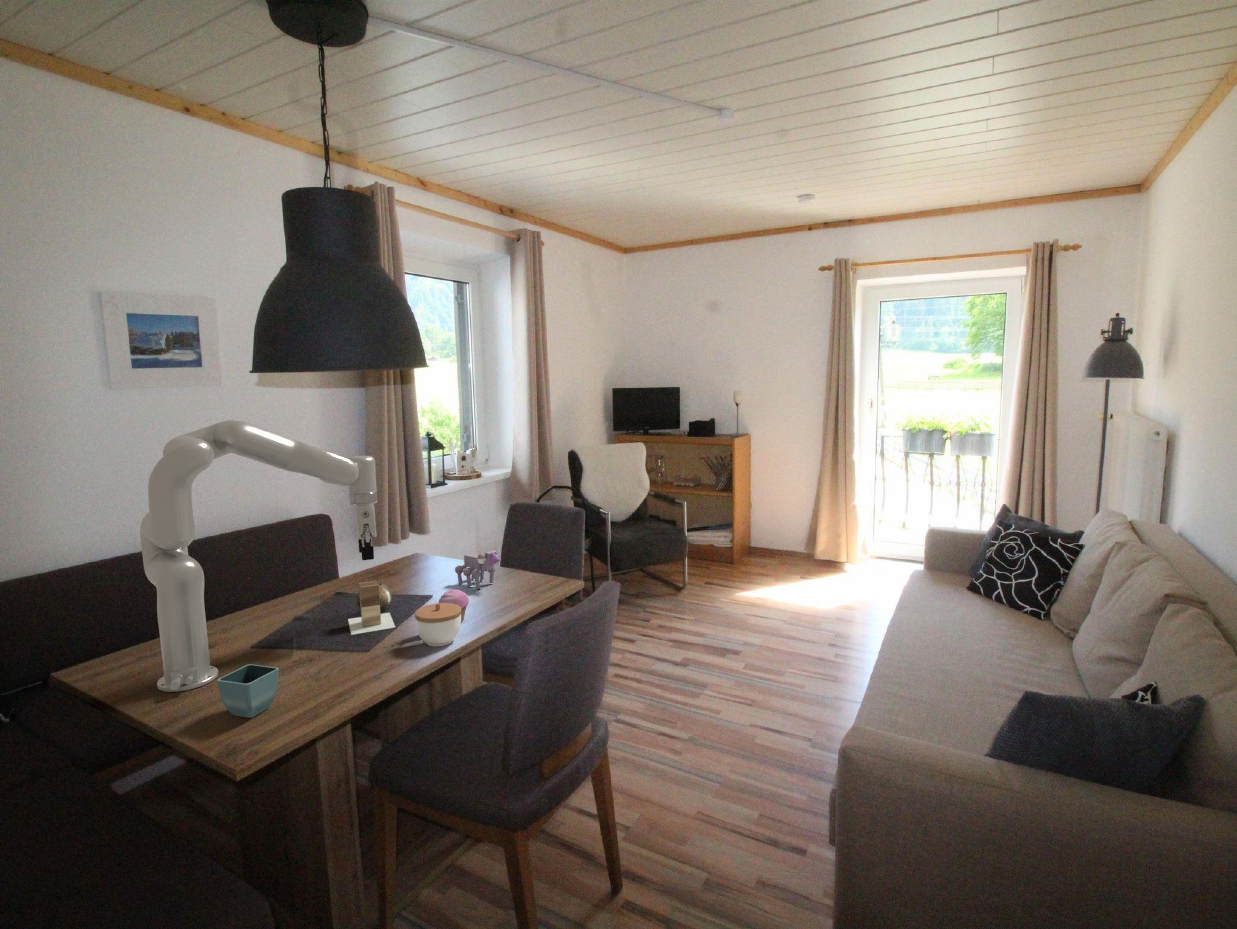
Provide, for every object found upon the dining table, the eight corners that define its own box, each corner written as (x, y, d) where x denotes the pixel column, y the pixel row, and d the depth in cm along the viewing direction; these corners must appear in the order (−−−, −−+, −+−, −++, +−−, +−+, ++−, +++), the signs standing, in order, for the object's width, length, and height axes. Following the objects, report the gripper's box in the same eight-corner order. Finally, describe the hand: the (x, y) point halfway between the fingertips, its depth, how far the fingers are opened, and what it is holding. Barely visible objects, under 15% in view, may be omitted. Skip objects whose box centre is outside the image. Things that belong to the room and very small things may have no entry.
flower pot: (252, 700, 151) (248, 663, 150) (283, 705, 148) (280, 667, 147) (219, 719, 142) (215, 679, 141) (251, 724, 140) (247, 684, 139)
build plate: (395, 631, 192) (395, 627, 192) (351, 638, 186) (351, 634, 186) (389, 616, 204) (389, 612, 204) (348, 622, 199) (347, 619, 199)
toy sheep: (514, 586, 232) (511, 549, 229) (491, 596, 223) (488, 558, 221) (476, 577, 244) (473, 542, 241) (453, 586, 235) (450, 549, 233)
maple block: (381, 624, 194) (379, 604, 193) (363, 627, 192) (361, 607, 191) (379, 619, 198) (378, 599, 198) (361, 621, 196) (360, 602, 196)
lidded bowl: (437, 630, 192) (435, 594, 190) (472, 637, 186) (470, 599, 185) (406, 646, 181) (404, 607, 179) (441, 653, 175) (439, 614, 174)
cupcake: (453, 615, 204) (451, 584, 203) (475, 619, 200) (474, 587, 199) (433, 625, 196) (432, 593, 195) (456, 629, 192) (455, 596, 191)
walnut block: (379, 604, 193) (378, 585, 192) (361, 607, 191) (360, 587, 190) (378, 599, 198) (376, 580, 197) (360, 602, 196) (359, 583, 195)
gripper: (380, 501, 184) (383, 561, 186) (373, 493, 200) (376, 547, 202) (351, 504, 181) (355, 564, 183) (347, 495, 197) (350, 550, 199)
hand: (366, 555), depth 192 cm, fingers open, 9 cm apart
